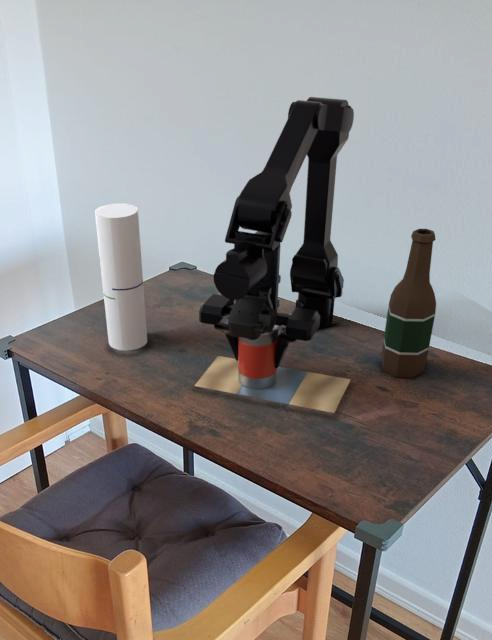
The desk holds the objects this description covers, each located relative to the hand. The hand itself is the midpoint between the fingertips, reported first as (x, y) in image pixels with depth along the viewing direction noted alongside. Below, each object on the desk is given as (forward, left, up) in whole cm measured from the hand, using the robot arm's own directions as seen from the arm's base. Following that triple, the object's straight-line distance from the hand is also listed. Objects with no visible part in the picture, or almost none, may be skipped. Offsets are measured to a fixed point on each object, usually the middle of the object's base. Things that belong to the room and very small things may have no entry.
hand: (257, 363), depth 125 cm
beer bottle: (-25, +6, -4) cm, 26 cm away
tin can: (0, 0, -3) cm, 3 cm away
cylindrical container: (+16, -22, -4) cm, 28 cm away
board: (-2, +2, -4) cm, 5 cm away
